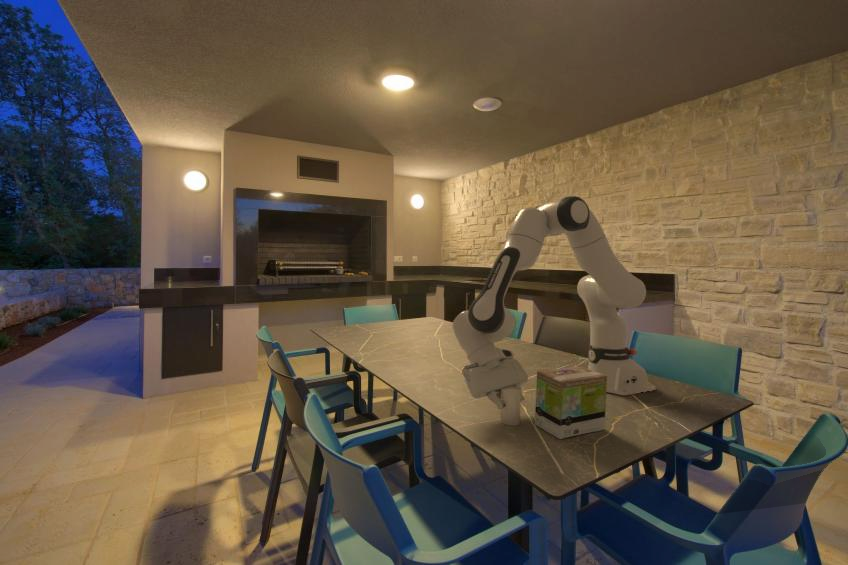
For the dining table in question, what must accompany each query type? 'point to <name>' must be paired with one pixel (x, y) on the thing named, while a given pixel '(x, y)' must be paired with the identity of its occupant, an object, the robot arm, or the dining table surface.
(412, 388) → the dining table surface
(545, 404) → the tea box
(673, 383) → the dining table surface
